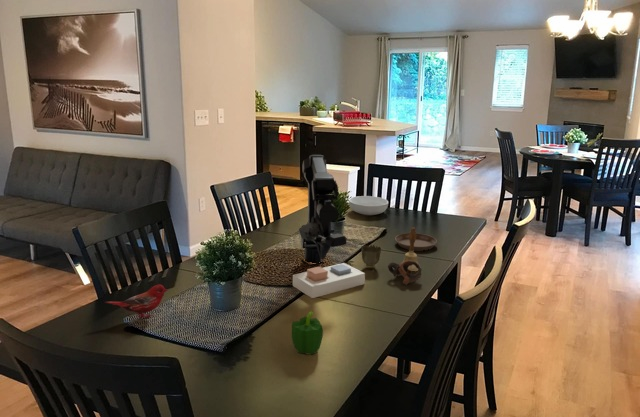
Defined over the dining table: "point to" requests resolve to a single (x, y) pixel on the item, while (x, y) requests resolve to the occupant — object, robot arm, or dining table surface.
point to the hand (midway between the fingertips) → (322, 259)
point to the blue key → (340, 269)
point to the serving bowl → (368, 205)
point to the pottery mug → (405, 271)
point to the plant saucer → (416, 241)
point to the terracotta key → (317, 274)
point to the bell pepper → (307, 334)
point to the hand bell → (412, 250)
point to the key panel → (328, 282)
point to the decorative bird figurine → (143, 301)
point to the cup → (370, 255)
